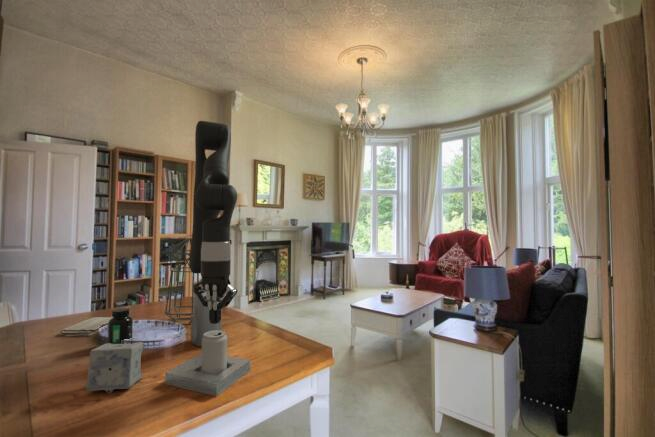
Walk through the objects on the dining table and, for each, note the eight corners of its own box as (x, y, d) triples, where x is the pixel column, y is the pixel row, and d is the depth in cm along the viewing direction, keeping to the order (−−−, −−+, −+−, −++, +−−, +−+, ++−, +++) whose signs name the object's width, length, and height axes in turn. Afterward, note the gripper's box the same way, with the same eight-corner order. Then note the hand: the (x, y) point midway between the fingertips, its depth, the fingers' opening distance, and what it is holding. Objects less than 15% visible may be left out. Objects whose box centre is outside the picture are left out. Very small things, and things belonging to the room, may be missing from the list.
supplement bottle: (118, 351, 101) (118, 313, 101) (102, 348, 103) (103, 311, 104) (137, 343, 108) (137, 308, 108) (122, 340, 110) (122, 306, 110)
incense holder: (143, 376, 85) (144, 337, 85) (129, 393, 77) (130, 350, 77) (103, 379, 83) (104, 339, 83) (84, 396, 75) (85, 352, 75)
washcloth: (57, 338, 113) (57, 329, 113) (93, 322, 131) (93, 314, 131) (91, 338, 113) (91, 329, 113) (122, 322, 131) (122, 314, 131)
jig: (165, 384, 81) (165, 372, 81) (204, 361, 94) (204, 351, 94) (216, 396, 75) (216, 383, 76) (250, 370, 89) (250, 360, 89)
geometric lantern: (173, 316, 138) (176, 236, 139) (210, 316, 140) (213, 237, 141) (157, 328, 122) (162, 238, 123) (199, 328, 124) (203, 239, 125)
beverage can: (218, 385, 81) (219, 338, 81) (196, 382, 82) (196, 336, 82) (231, 373, 87) (231, 330, 87) (210, 371, 88) (210, 328, 88)
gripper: (185, 258, 83) (185, 324, 83) (227, 261, 79) (226, 330, 79) (205, 256, 90) (205, 316, 90) (245, 258, 86) (244, 321, 86)
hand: (215, 323), depth 84 cm, fingers closed
